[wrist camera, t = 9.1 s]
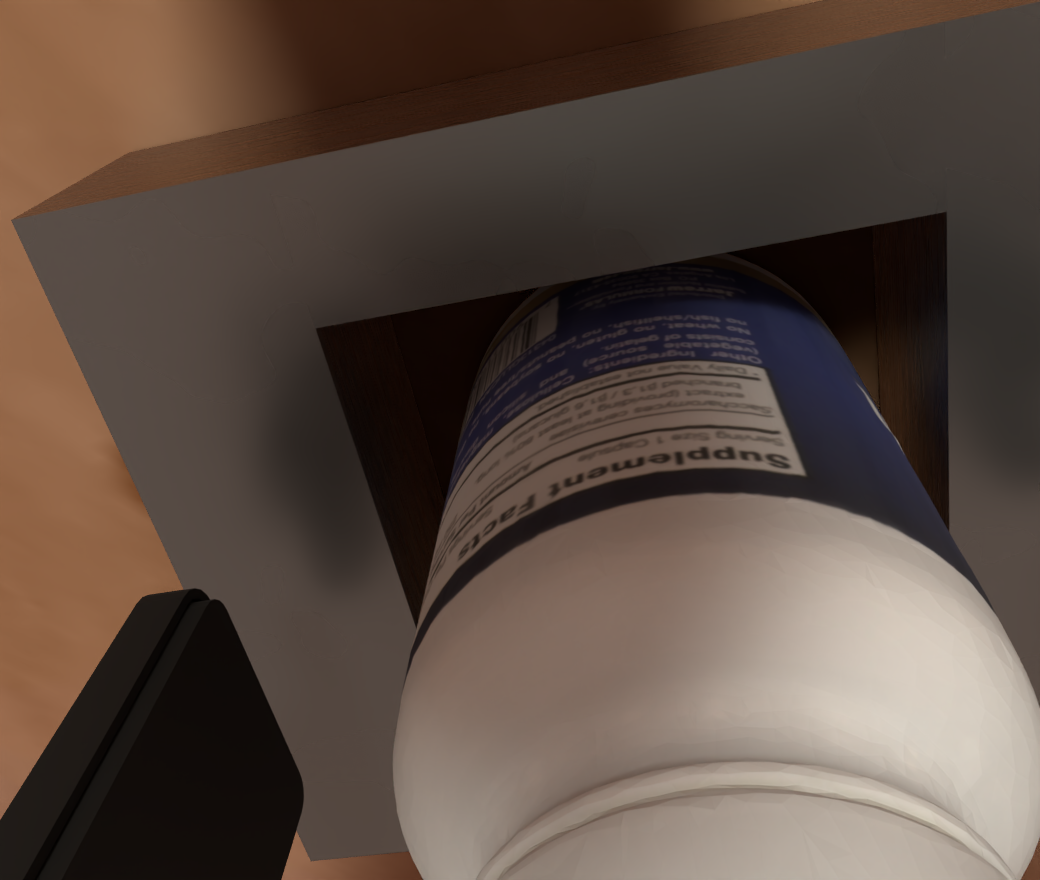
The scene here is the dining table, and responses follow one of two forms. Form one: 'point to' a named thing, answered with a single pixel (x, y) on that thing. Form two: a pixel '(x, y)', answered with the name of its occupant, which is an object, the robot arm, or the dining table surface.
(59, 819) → the robot arm
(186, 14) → the dining table surface
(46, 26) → the dining table surface
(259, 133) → the socket block
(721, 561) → the pill bottle
